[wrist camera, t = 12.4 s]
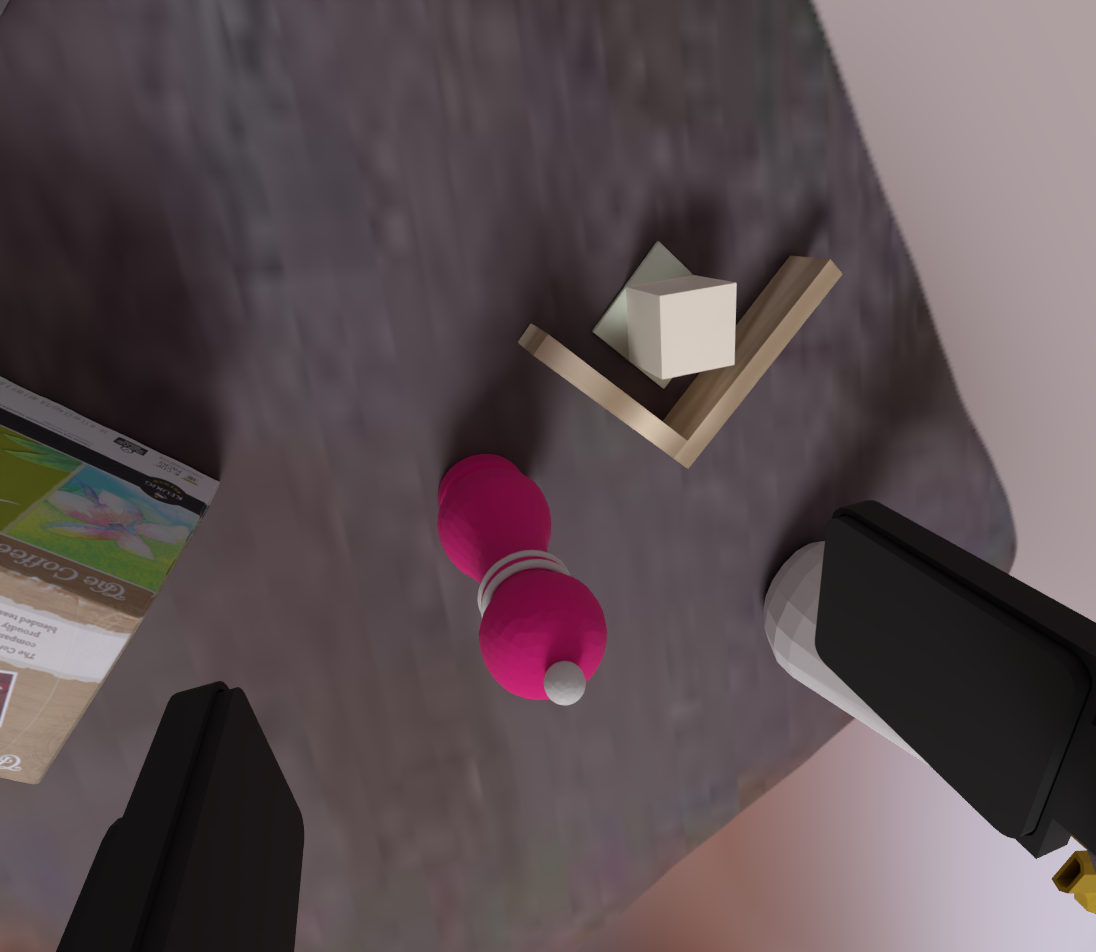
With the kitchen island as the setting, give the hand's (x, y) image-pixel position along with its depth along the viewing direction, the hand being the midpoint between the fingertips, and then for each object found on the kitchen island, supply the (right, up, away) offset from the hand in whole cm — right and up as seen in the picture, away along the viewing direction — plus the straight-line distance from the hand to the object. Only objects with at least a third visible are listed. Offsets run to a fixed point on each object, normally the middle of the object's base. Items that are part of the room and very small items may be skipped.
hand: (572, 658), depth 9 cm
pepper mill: (-5, +2, +32) cm, 33 cm away
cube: (+7, +14, +31) cm, 34 cm away
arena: (+7, +15, +30) cm, 34 cm away
